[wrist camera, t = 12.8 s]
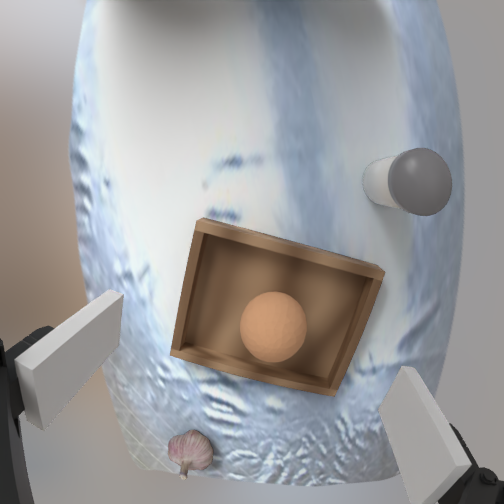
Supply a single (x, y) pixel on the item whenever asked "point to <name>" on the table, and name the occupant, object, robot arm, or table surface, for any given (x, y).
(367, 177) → the shaker
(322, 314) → the tray
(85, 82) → the table surface
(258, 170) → the table surface
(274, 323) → the egg
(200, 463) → the garlic bulb
